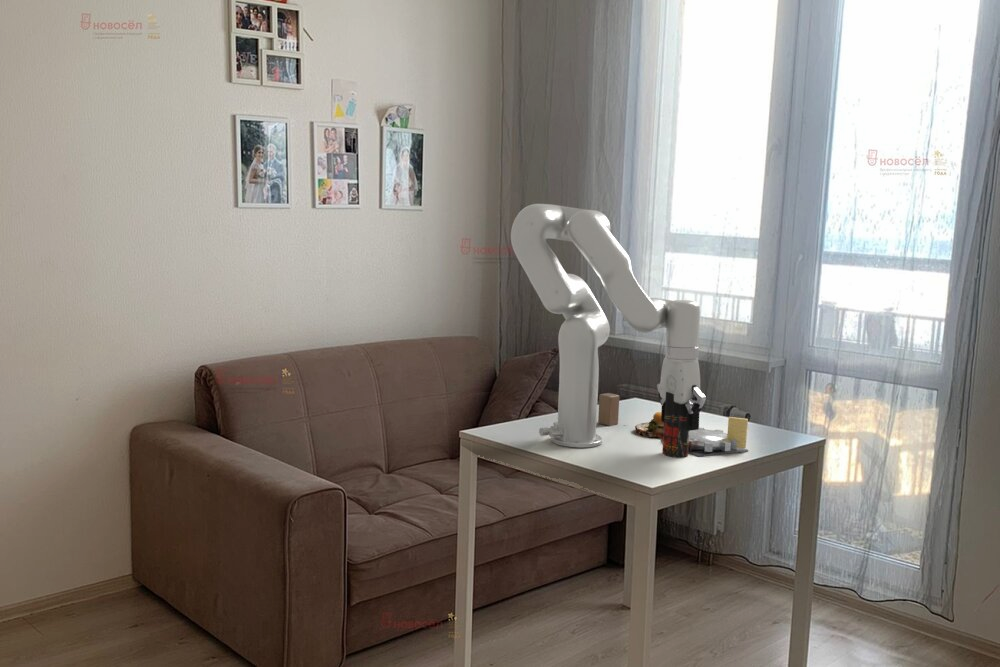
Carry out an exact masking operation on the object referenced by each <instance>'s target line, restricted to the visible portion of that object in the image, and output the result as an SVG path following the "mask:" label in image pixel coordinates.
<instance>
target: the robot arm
mask: <svg viewBox="0 0 1000 667" xmlns="http://www.w3.org/2000/svg"><path fill="white" fill-rule="evenodd" d="M510 231H511V232H510V240H511V242H510V243H511V247H512V250H513V252H514V254H515V256H516V258H517V260H518V262H519V264H520V265H521V267H522V268H523V270H524V272H525V273H526V275H527V277H528V280H529V282H530V284H531V285H532V287H533V289H534V290H535V292H536V293H537V295H538V297H539V299H540V301H541V303H542V305H543V307H544V308H545V309H546V310H547V311H548V312H550V313H552V314H556V315H561V314H562V316H563V318H564V319H565V320H564V321H563V322H562V324H561V325H560V328H559V332H558V339H557V341H558V352H559V354H558V355H559V376H558V378H559V381H558V382H559V384H558V402H557V405H558V406H557V421H556V422H553V425H551V426H550V427H540V428H539V430H538V433H539V435H540V436H541V437H543V436H545V437H546V436H549V437H550V441H551V442H552V443H553V444H555V445H559V446H563V447H568V448H592V447H594V448H595V447H598V446H600V445H601V444H602V443H603V438H602V437H601V435H599V434H597V421H598V419H597V418H598V417H597V416H598V399H599V398H598V397H599V396H598V394H599V377H600V376H599V373H600V372H599V371H600V368H599V367H600V366H599V351H598V350H599V349H598V348H600V347H601V346H603V345H604V344H605V343H606V342H607V341H608V339H609V336H610V332H611V331H610V330H611V329H610V328H611V327H610V322H609V319H607V316H606V313H604V311H603V309H602V307H601V306H600V304H599V301H598V300H597V299H596V297H595V295H594V293H593V292H592V290H591V288H590V287H589V285H588V283H587V282H586V281H585V280H584V279H583V278H582V277H580V276H578V275H576V274H573V273H567V272H566V270H565V269H564V268H563V265H562V264H561V262H560V261H559V258H558V257H557V255H556V254H555V252H554V251H553V250H552V248H551V247H550V245H549V244H548V243H547V240H548V239H551V240H552V239H554V240H560V241H566V242H572V243H573V244H574V245H575V247H576V248H577V249H578V251H579V252H580V254H582V256H583V258H584V259H585V260H586V261H587V262H588V264H589V266H590V267H591V268H592V269H593V270H594V272H595V273H596V275H597V277H599V279H600V281H601V283H602V285H603V287H604V289H605V292H606V293H607V295H608V297H609V299H610V300H611V302H612V303H613V306H614V307H615V308H616V309H617V311H618V313H620V315H621V316H622V318H623V320H625V321H626V322H627V324H628V325H629V326H630V327H631V328H632V329H634V330H635V331H636V332H638V333H641V334H649V333H651V332H654V331H656V330H660V329H665V357H664V358H663V362H662V366H661V371H660V381H659V383H658V384H656V388H657V392H658V397H659V399H660V401H659V403H660V405H661V409H660V410H661V411H660V412H661V421H662V422H664V416H665V399H666V392H669V393H672V394H674V402H675V403H678V404H685V405H686V407H687V410H688V412H689V413H687V418H686V430H688V431H691V430H698V429H699V428H700V414H701V413H702V410H703V409H704V406H705V403H706V400H707V397H706V395H705V394H704V393H703V392H702V391H701V372H700V364H699V350H700V349H699V347H700V346H699V344H700V314H701V313H700V312H701V307H700V304H699V302H697V301H695V300H691V299H690V300H689V299H688V300H687V299H680V300H679V299H677V300H676V299H675V300H669V299H664V298H658V297H649V296H648V295H647V293H646V292H645V291H644V290H643V288H642V287H641V285H640V284H639V283H638V281H637V279H636V277H635V276H634V273H633V270H632V262H631V257H630V256H629V254H628V253H627V251H626V250H625V249H624V247H622V245H621V244H620V243H619V241H618V240H617V238H615V236H614V235H613V234H612V232H611V222H610V220H609V219H608V217H607V216H606V215H605V213H602V212H601V211H599V210H596V209H595V210H593V209H584V208H577V207H570V206H566V205H565V206H564V205H559V204H557V205H556V204H551V203H549V204H548V203H533V204H530V205H527V206H526V207H523V209H521V210H520V211H519V213H518V214H517V215H516V217H515V218H514V220H513V222H512V227H511V230H510ZM692 405H693V406H692Z"/></svg>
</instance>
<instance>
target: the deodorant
mask: <svg viewBox="0 0 1000 667" xmlns="http://www.w3.org/2000/svg"><path fill="white" fill-rule="evenodd" d="M687 413H689V412H688V410H687V407H686V405H685V404H678V403H675V402H674V394H672V393H669V392H666V399H665V416H664V434H663V439H662V440H663V442H662V452H661V453H662V455H663V456H664V457H668V458H673V459H674V458H675V459H685V458H687V457H688V456H689V453H688V445H689V431H688V430H686V418H687Z"/></svg>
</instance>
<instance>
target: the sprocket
mask: <svg viewBox="0 0 1000 667" xmlns="http://www.w3.org/2000/svg"><path fill="white" fill-rule="evenodd" d="M748 423H749V419H748V418H746V417H745V418H743V417H735V416H728V423H727V433H725V432H724V430H721V429H713V430H712V429H707V428H706V429H705V428H704V427H699V429H698V430H691V431H689V445H688V449H690V450H691V449H701V450H704V451H705V452H712V450H722V451H730V448H737V447H739V448H745V449H747V439H748V438H747V436H748V426H749V424H748Z"/></svg>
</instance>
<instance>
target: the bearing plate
mask: <svg viewBox="0 0 1000 667" xmlns="http://www.w3.org/2000/svg"><path fill="white" fill-rule="evenodd" d="M660 442H661V443H663V439H660ZM745 452H746V453H748V452H749V449H747V448H739V447H737V448H730V451H722V450H712V452H705V451H704V450H701V449H691V450H690V449H688V454H690V455H692V456H695V457H697V458H701V457H709V456H718V455H719V456H720V455H727V454H728V455H729V454H738V453H745Z"/></svg>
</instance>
